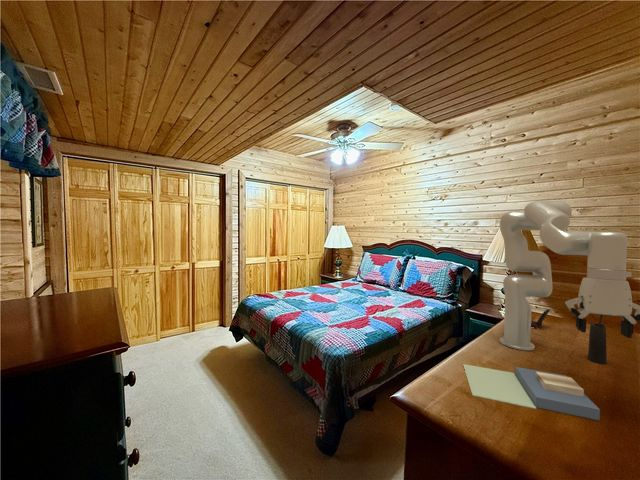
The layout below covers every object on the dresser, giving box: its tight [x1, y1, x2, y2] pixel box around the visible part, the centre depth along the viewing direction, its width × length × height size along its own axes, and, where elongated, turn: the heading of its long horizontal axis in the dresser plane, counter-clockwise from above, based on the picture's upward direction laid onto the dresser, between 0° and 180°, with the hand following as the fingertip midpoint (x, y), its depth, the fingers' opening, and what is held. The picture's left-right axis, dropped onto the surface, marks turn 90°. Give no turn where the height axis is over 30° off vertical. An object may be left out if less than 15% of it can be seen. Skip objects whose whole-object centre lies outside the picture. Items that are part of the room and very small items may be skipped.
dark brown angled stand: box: [531, 308, 551, 329], centre depth 141 cm, size 9×12×10 cm
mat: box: [462, 363, 537, 410], centre depth 87 cm, size 20×16×1 cm
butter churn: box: [587, 314, 608, 365], centre depth 104 cm, size 9×10×28 cm
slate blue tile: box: [514, 366, 601, 421], centre depth 81 cm, size 18×14×3 cm
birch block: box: [536, 372, 585, 397], centre depth 81 cm, size 7×9×2 cm
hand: (603, 333), depth 76 cm, fingers open, 9 cm apart
